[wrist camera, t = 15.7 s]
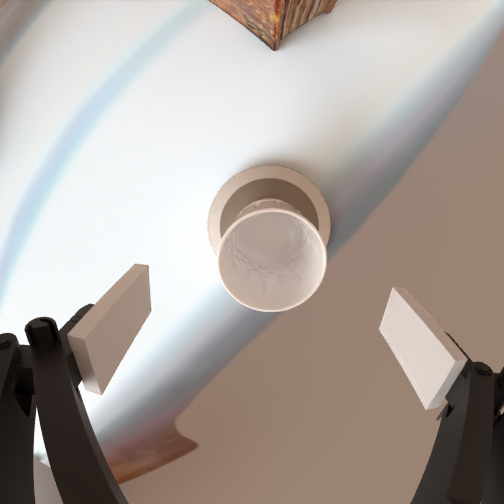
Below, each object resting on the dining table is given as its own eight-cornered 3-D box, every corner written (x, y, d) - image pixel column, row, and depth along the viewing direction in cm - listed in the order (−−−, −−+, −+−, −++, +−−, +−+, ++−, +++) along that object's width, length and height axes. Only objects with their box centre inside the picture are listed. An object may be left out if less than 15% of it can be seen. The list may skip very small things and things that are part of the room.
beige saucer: (190, 196, 30) (186, 198, 29) (300, 146, 28) (302, 145, 27) (240, 295, 34) (239, 301, 32) (342, 253, 32) (346, 258, 30)
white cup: (265, 278, 31) (267, 329, 22) (215, 226, 30) (194, 260, 20) (321, 232, 29) (348, 267, 20) (271, 175, 28) (277, 184, 18)
